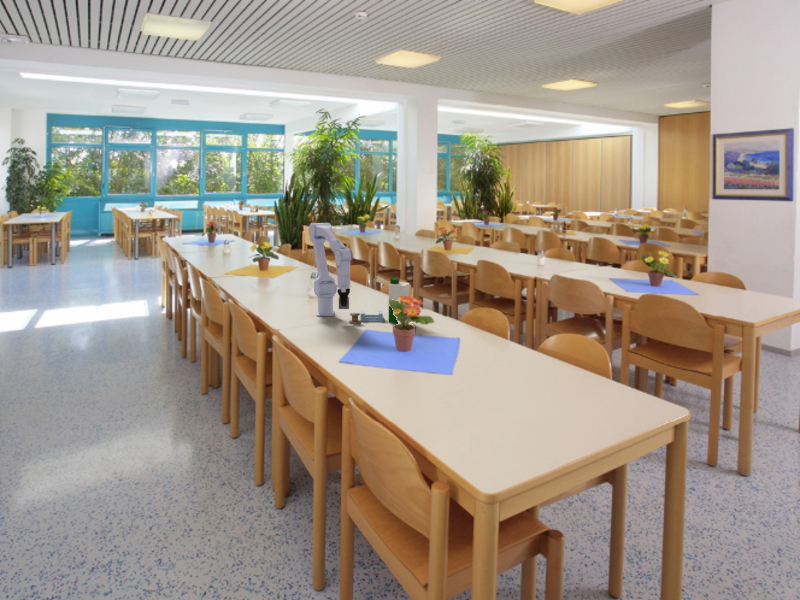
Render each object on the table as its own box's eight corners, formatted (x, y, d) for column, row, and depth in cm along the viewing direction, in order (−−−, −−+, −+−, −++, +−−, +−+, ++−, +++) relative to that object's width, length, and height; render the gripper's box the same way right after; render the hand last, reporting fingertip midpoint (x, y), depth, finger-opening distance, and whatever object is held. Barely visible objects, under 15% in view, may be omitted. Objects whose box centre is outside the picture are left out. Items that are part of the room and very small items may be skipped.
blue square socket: (360, 317, 269) (360, 310, 268) (383, 317, 269) (383, 310, 269) (359, 321, 260) (359, 314, 259) (383, 321, 260) (383, 314, 260)
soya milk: (392, 318, 267) (393, 277, 263) (410, 320, 264) (411, 278, 260) (386, 322, 259) (386, 279, 255) (404, 324, 256) (405, 281, 252)
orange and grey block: (339, 307, 259) (339, 296, 258) (349, 307, 259) (349, 296, 258) (338, 309, 256) (338, 297, 255) (348, 309, 256) (348, 297, 255)
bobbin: (349, 321, 260) (349, 312, 260) (360, 321, 261) (360, 312, 260) (348, 323, 255) (348, 314, 255) (360, 324, 256) (360, 315, 255)
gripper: (335, 273, 261) (335, 301, 264) (334, 278, 247) (334, 308, 249) (350, 273, 261) (350, 301, 264) (350, 278, 247) (350, 308, 250)
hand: (343, 305), depth 257 cm, fingers closed on orange and grey block, 3 cm apart
